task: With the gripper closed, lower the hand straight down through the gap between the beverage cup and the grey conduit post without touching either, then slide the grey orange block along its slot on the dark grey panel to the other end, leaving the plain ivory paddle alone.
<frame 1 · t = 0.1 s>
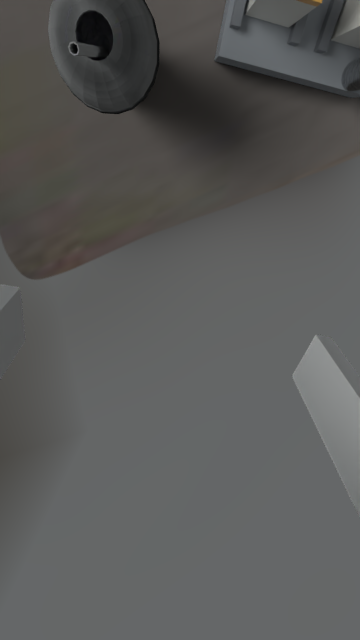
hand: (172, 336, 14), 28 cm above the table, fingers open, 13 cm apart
conduit post: (354, 75, 28), resting on panel
beverage cup: (125, 71, 30), on the table
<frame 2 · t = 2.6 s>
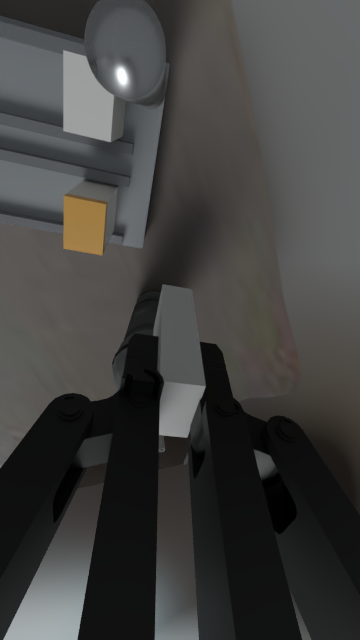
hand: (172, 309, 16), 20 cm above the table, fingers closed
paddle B: (98, 101, 21), point 6 cm above the table, slide at 0.0 cm
panel: (48, 141, 28), on the table
grey orange block: (92, 215, 26), point 6 cm above the table, slide at 0.0 cm
conduit post: (150, 91, 24), resting on panel
beverage cup: (153, 305, 39), on the table
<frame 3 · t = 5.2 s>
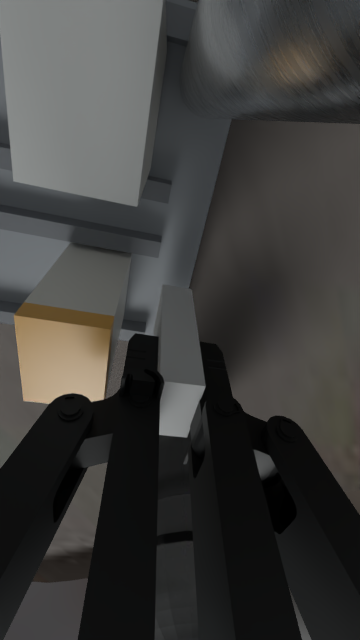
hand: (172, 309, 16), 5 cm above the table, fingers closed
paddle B: (106, 102, 9), point 7 cm above the table, slide at 0.0 cm
panel: (17, 172, 16), on the table
grey orange block: (85, 315, 13), point 7 cm above the table, slide at 0.4 cm, touching gripper
conduit post: (209, 81, 12), resting on panel
beverage cup: (183, 398, 27), on the table
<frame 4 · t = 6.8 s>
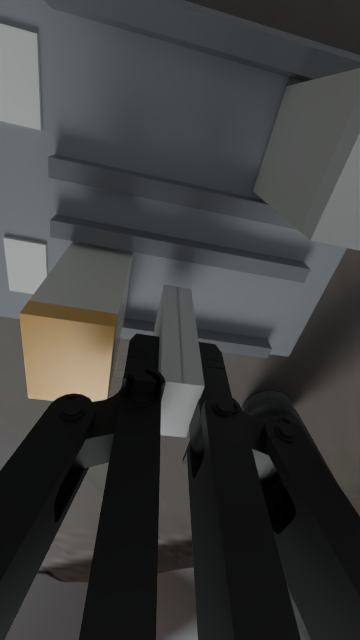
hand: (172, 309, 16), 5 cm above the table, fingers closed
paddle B: (335, 160, 10), point 6 cm above the table, slide at 0.0 cm
panel: (162, 201, 17), on the table
grey orange block: (88, 314, 14), point 7 cm above the table, slide at 8.1 cm, touching gripper
beverage cup: (265, 405, 28), on the table
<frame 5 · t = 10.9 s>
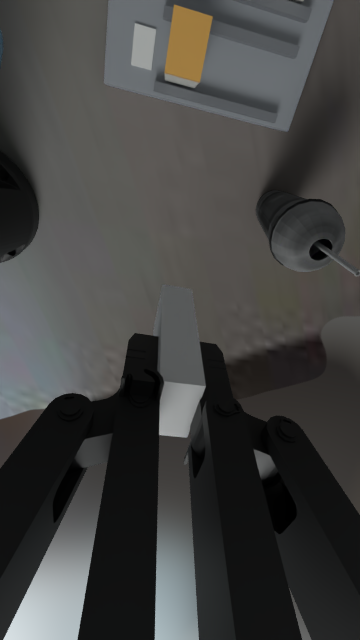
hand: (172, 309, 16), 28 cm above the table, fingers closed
panel: (215, 19, 30), on the table
grey orange block: (185, 52, 26), point 6 cm above the table, slide at 8.0 cm
beverage cup: (271, 207, 41), on the table
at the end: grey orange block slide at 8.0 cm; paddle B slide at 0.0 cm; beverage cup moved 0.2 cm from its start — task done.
